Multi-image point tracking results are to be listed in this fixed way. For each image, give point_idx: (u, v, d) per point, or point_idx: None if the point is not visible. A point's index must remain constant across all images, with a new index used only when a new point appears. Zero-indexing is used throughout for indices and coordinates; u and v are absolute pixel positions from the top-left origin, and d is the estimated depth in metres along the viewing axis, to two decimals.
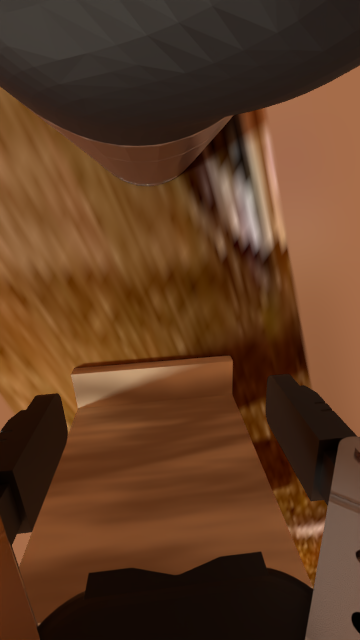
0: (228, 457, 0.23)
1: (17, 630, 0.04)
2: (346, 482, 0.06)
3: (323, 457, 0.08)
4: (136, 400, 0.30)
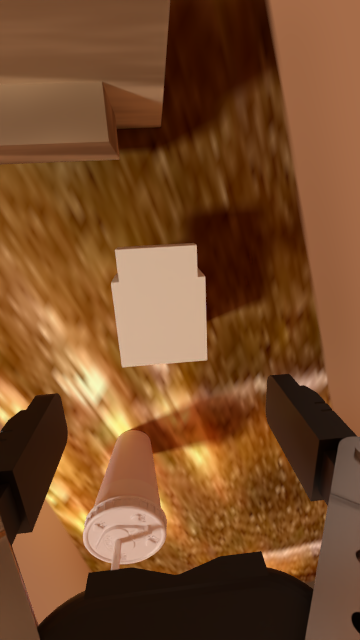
0: None
1: (17, 630, 0.04)
2: (346, 482, 0.06)
3: (323, 457, 0.08)
4: None
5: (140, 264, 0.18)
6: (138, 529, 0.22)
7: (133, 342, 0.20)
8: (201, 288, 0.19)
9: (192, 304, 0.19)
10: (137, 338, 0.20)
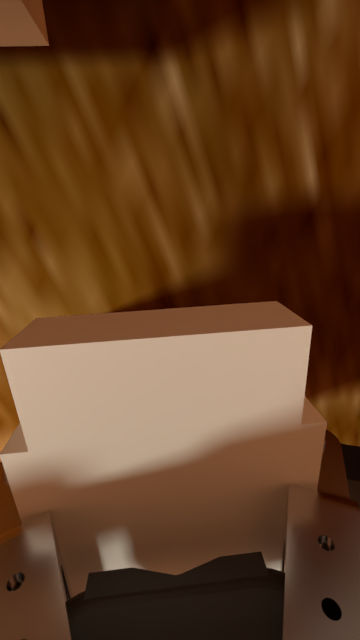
0: None
1: (50, 613, 0.04)
2: None
3: None
4: None
5: (102, 395, 0.05)
6: None
7: None
8: (309, 455, 0.06)
9: (274, 497, 0.06)
10: None
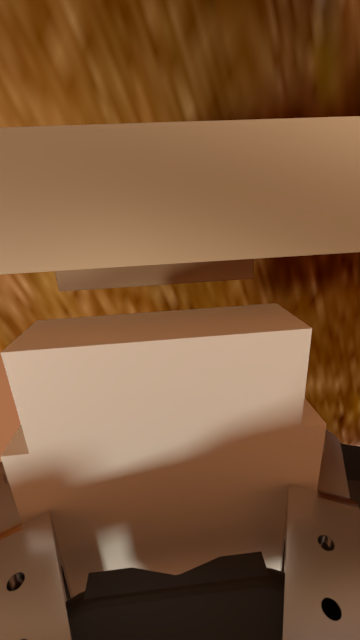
0: None
1: (50, 613, 0.04)
2: None
3: None
4: None
5: (103, 397, 0.05)
6: None
7: None
8: (308, 457, 0.06)
9: (274, 499, 0.06)
10: None
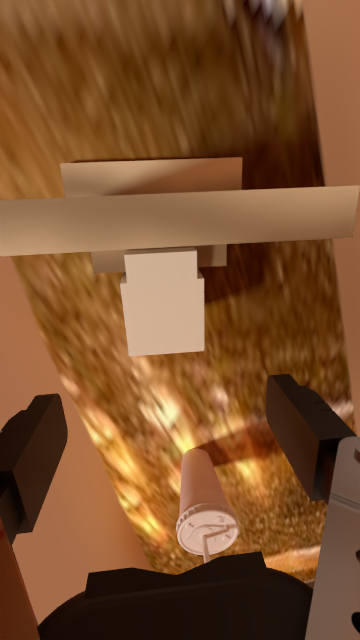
0: None
1: (17, 630, 0.04)
2: (346, 482, 0.06)
3: (323, 457, 0.08)
4: None
5: (146, 267, 0.20)
6: (219, 527, 0.29)
7: (139, 335, 0.22)
8: (200, 288, 0.21)
9: (192, 302, 0.22)
10: (143, 332, 0.22)
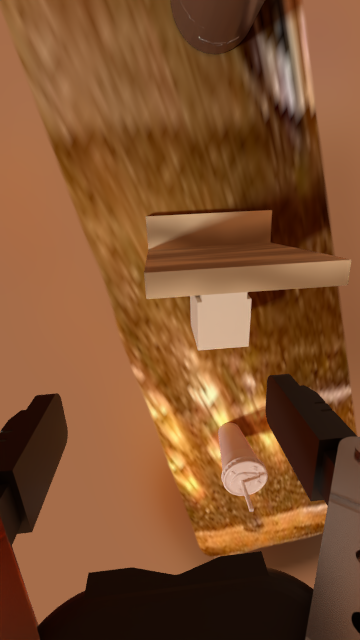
0: (276, 249, 0.31)
1: (17, 630, 0.04)
2: (346, 482, 0.06)
3: (323, 457, 0.08)
4: (194, 244, 0.38)
5: None
6: (253, 474, 0.40)
7: (206, 335, 0.33)
8: (248, 305, 0.32)
9: (242, 314, 0.33)
10: (209, 333, 0.33)
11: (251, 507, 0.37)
